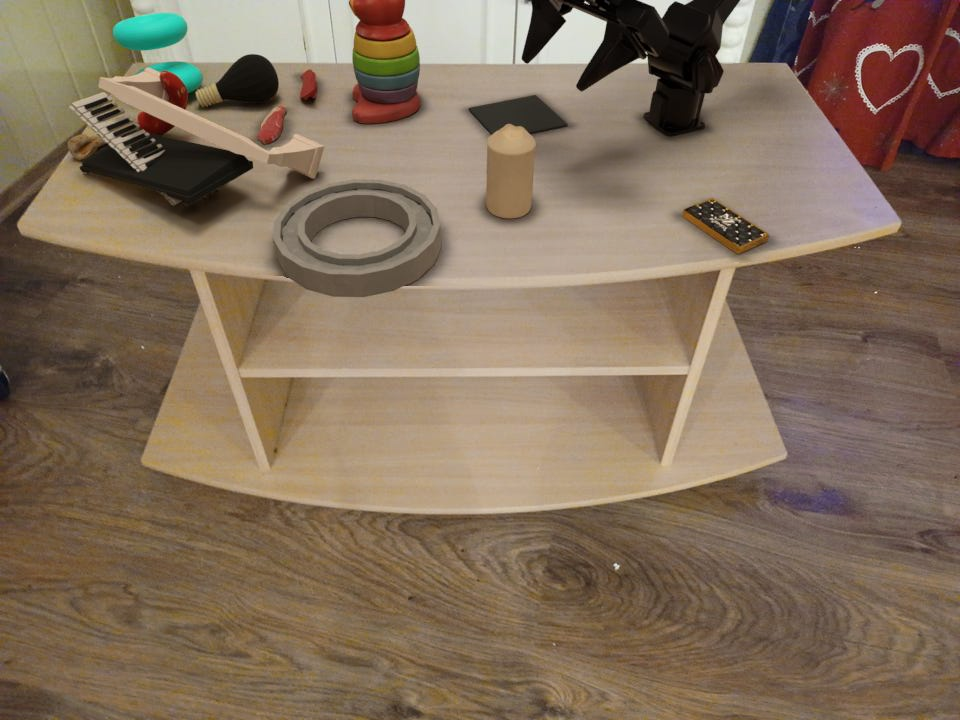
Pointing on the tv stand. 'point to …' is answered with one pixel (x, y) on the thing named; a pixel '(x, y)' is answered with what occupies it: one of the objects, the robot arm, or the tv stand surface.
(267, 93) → the light bulb
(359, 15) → the stacking bear
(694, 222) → the black flat block
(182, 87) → the vegetable
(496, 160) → the candle
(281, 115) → the steak
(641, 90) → the tv stand surface
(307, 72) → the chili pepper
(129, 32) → the donuts
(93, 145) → the brown bone
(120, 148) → the synthesizer keyboard
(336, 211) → the mechanical component
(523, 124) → the mat
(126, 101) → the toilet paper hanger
